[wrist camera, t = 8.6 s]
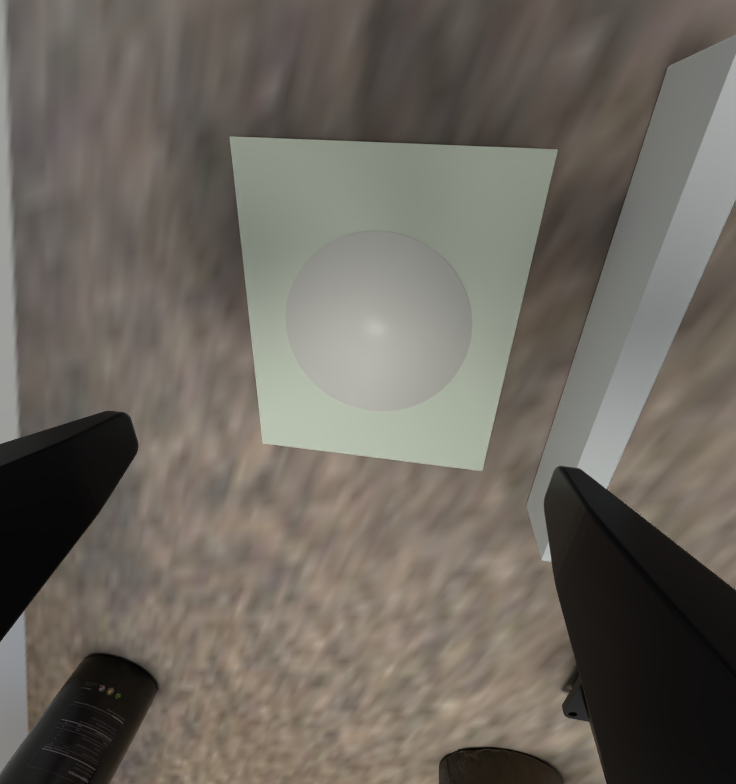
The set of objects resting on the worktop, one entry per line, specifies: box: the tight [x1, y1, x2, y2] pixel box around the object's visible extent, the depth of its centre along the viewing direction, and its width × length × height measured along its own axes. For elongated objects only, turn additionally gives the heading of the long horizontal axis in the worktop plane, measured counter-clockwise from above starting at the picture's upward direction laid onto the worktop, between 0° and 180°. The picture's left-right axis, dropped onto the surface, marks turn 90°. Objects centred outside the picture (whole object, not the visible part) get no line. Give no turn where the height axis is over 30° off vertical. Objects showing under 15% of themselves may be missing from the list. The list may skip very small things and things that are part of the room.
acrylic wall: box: [526, 35, 736, 562], centre depth 13 cm, size 16×1×3 cm, turn 178°
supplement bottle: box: [0, 655, 156, 784], centre depth 28 cm, size 7×7×12 cm
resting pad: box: [230, 136, 558, 471], centre depth 15 cm, size 12×10×1 cm
